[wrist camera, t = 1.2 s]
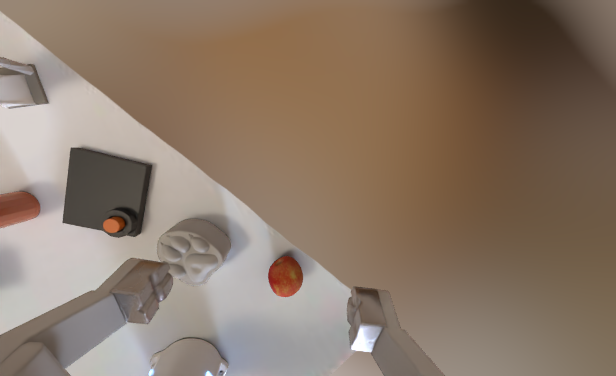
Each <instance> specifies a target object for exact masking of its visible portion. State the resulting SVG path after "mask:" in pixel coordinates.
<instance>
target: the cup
mask: <svg viewBox="0 0 616 376" xmlns="http://www.w3.org/2000/svg"><path fill="white" fill-rule="evenodd" d="M39 212H40V204H39V202H38V200H37V199H36V198H35V197H34V196H33V195H31V194H29V193H26V192H21V191H19V192H12V193H5V194H0V228H4V227H7V226H11V225H14V224H18V223H21V222H25V221H28V220H31V219H33V218H35V217H36V216H37V215H38V214H39Z"/></svg>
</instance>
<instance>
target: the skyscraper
mask: <svg viewBox="0 0 616 376" xmlns="http://www.w3.org/2000/svg"><path fill="white" fill-rule="evenodd" d="M0 66H2V67H4V68H0V106H3V107H6V108H17V107H25V106H32V105H39V104H47V103H48V101H47V98H46V95H45V93H44V90H43V87H42V85H41V82H40V79H39V77H38V74H37V71H36V69H35V66H34V65H33V64H28V65H25V64H22V63H19V62H16V61H12V60H9V59H6V58H4V57H3V58H1V57H0Z"/></svg>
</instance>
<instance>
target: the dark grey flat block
mask: <svg viewBox="0 0 616 376" xmlns="http://www.w3.org/2000/svg"><path fill="white" fill-rule="evenodd" d="M151 168H152V165H148V164H144V163H140V162H136V161H132V160H128V159H123V158H119V157H115V156H111V155H107V154H103V153H99V152H95V151H91V150H87V149H83V148H71V151H70V160H69V169H68V178H67V187H66V196H65V205H64V214H63V223H66V224H71V225H76V226H81V227H87V228H92V229H97V230H102V231H104V232H105V233H107V234H108V235H110V236H113V237H118V238H119V237H123V236H126V235H127V236H133V237H136V236H137V235H139V234H140V233H141V227H142V221H143V215H144V209H145V203H146V197H147V191H148V185H149V179H150V174H151ZM116 216H117V217H121V218H122V219H123V220H124V221H125V227H124V228H123V229H121V230H119V231H117V232H115V233H109V232H107V231H105V229H104V228H103V223H104V222H105V221H106V220H107V219H110V218H112V217H116Z"/></svg>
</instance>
